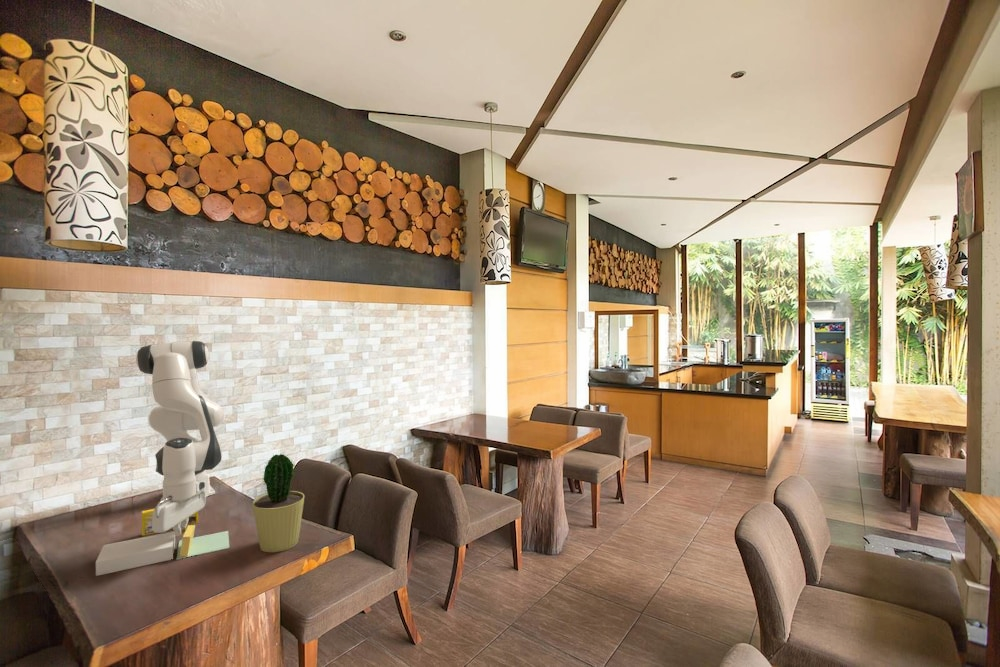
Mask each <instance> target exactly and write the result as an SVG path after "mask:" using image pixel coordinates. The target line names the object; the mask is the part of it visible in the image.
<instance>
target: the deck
mask: <svg viewBox="0 0 1000 667" xmlns="http://www.w3.org/2000/svg"><path fill="white" fill-rule="evenodd" d="M175 547H176V536H175V530H173V531H170V532H163V533H159V534H155V535H153V534H152V535H147V536H142V537H140V538H139V537H138V538H134V539H133V538H132V539H128V540H123V541H117V542H112V543H108V544H106V543H105V544H103V546H102V548H101V550H100V552H99V554H98V556H97V559H96V561H95V576H96V577H97V576H102V575H107V574H111V573H116V572H120V571H125V570H130V569H134V568H135V569H136V568H139V567H140V568H141V567H143V566H144V567H145V566H149V565H153V564H157V563H158V564H159V563H163V562H167V561H171V559H172V560H173V559H174V555H173V554H175Z"/></svg>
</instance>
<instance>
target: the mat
mask: <svg viewBox="0 0 1000 667" xmlns="http://www.w3.org/2000/svg"><path fill="white" fill-rule="evenodd" d="M181 545H182V539H180V540H178V546H177V552H176V553H177V555H176V558H175V559H176V560H177V561H178V560H182V558H183V559H187V558H186V557H188V558H191V556H192V557H196V556H195V555H197V556H201V555H205V554H210V553H215V552H219V551H223V550H229V549H230V537H229V530H225V531H220V532H216V533H210V534H205V535H201V536H200V535H199V536H195V537H193V543H192V546H191V548H190V551H189V553H188V556H181V557H180V552H181Z"/></svg>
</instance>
